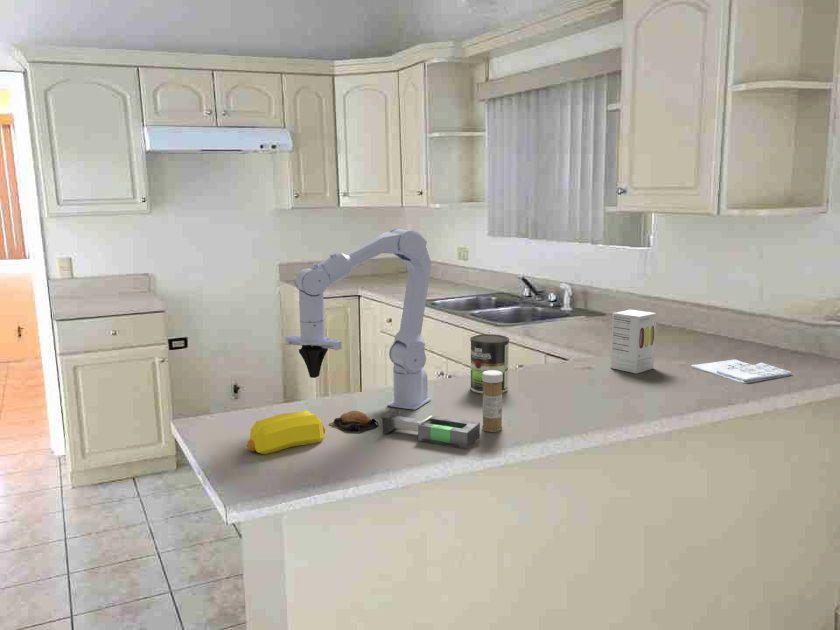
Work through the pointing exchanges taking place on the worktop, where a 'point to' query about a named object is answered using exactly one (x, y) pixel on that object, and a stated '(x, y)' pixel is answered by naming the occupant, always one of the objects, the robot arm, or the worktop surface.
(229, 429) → the worktop surface
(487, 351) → the coffee can
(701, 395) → the worktop surface
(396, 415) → the grey angular piece
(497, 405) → the sprinkles bottle
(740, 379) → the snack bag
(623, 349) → the supplement box
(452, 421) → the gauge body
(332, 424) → the bread roll
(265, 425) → the yellow banana
